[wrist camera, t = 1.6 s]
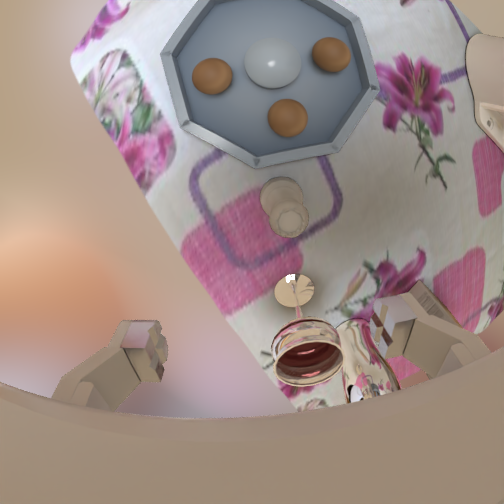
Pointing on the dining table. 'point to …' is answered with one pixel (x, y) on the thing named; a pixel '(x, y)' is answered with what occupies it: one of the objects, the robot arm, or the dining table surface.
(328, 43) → the walnut bead
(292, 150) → the ring dish
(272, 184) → the rook chess piece
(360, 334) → the beer glass
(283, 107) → the walnut bead
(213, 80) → the walnut bead
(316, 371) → the wineglass
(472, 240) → the dining table surface
